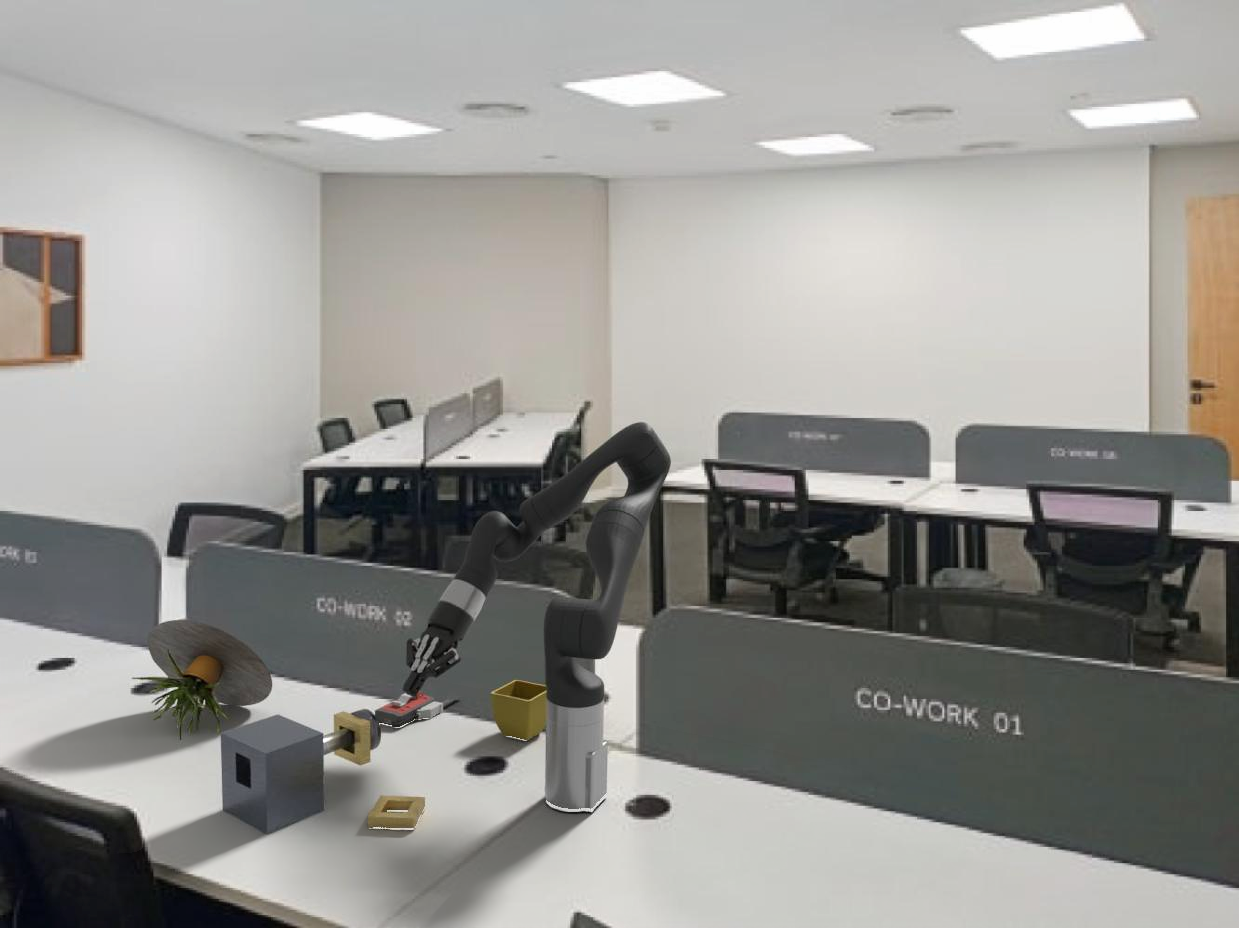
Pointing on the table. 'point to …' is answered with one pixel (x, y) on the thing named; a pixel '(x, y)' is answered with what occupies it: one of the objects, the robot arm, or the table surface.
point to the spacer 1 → (362, 738)
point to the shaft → (352, 734)
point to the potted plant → (204, 670)
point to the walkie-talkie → (409, 709)
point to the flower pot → (520, 709)
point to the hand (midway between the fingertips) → (408, 693)
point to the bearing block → (272, 772)
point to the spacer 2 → (396, 820)
